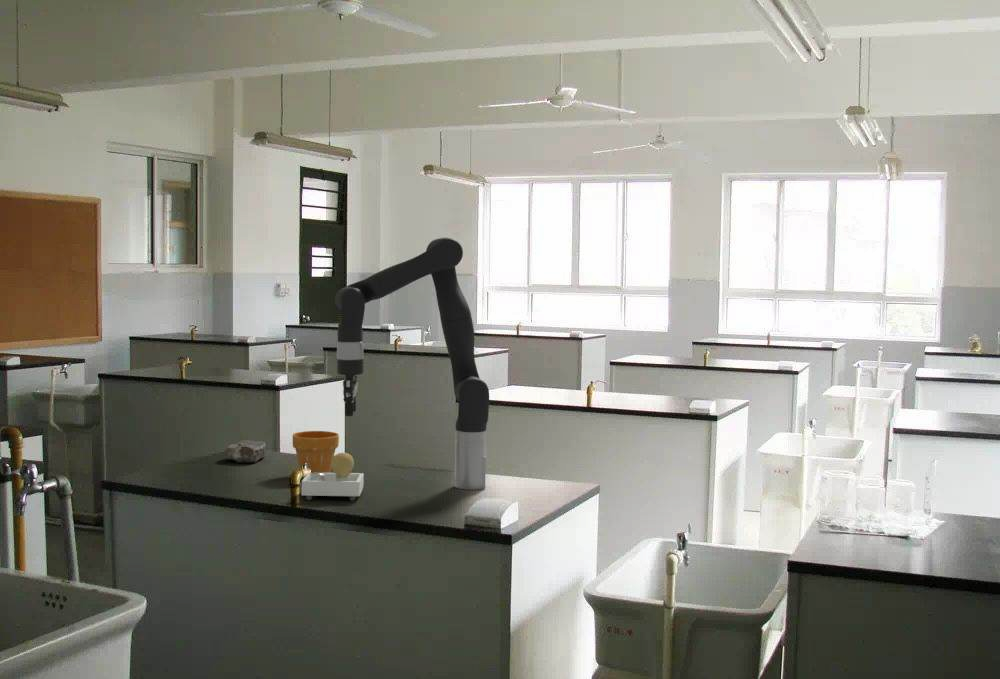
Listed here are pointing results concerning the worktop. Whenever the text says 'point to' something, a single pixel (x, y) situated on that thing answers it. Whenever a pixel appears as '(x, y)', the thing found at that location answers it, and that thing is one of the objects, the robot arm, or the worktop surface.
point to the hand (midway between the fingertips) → (350, 413)
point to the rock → (246, 451)
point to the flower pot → (316, 449)
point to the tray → (333, 486)
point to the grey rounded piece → (317, 476)
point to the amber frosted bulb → (342, 466)
